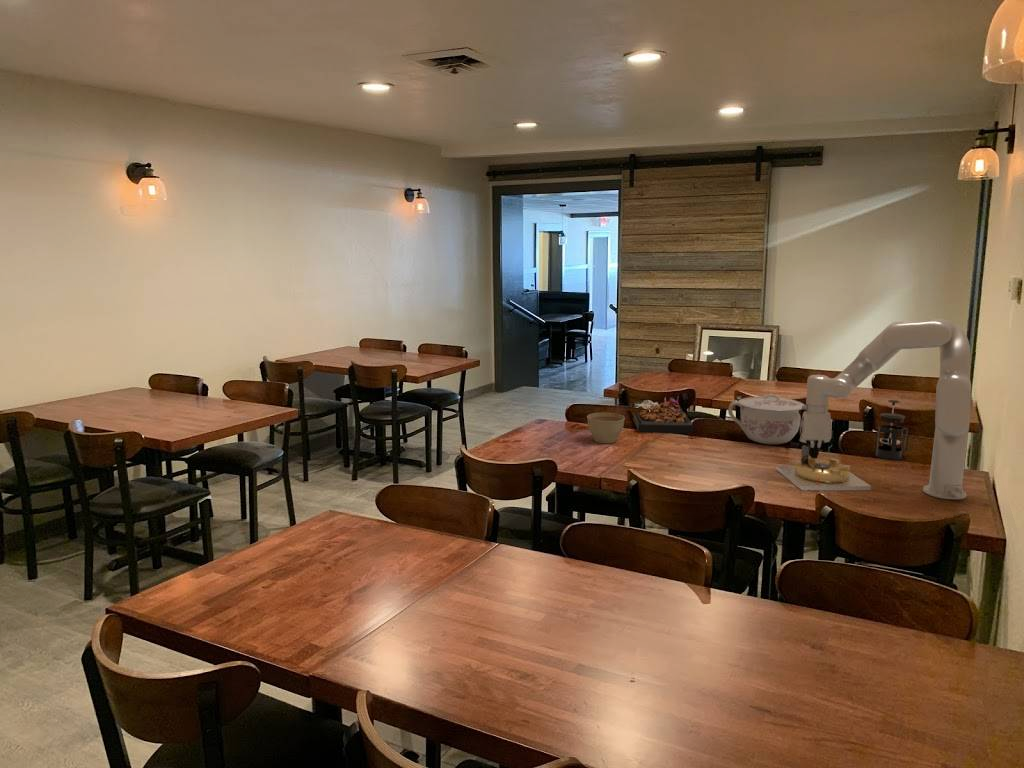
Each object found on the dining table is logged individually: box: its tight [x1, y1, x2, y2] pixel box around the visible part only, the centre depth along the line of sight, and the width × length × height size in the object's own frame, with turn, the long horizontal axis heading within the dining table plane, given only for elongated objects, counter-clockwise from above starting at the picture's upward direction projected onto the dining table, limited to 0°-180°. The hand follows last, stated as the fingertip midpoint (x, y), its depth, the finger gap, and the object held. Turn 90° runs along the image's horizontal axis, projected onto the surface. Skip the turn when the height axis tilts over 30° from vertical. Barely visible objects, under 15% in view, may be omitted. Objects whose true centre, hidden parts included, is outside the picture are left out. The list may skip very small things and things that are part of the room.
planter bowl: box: [586, 412, 626, 444], centre depth 311 cm, size 16×16×11 cm
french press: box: [875, 399, 910, 461], centre depth 286 cm, size 12×9×23 cm
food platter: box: [629, 395, 695, 434], centre depth 347 cm, size 45×25×10 cm, turn 176°
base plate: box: [775, 465, 872, 492], centre depth 260 cm, size 24×24×2 cm
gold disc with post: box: [794, 445, 851, 483], centre depth 259 cm, size 18×18×9 cm
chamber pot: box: [727, 393, 805, 446], centre depth 311 cm, size 28×28×21 cm
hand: (813, 457), depth 266 cm, fingers closed
